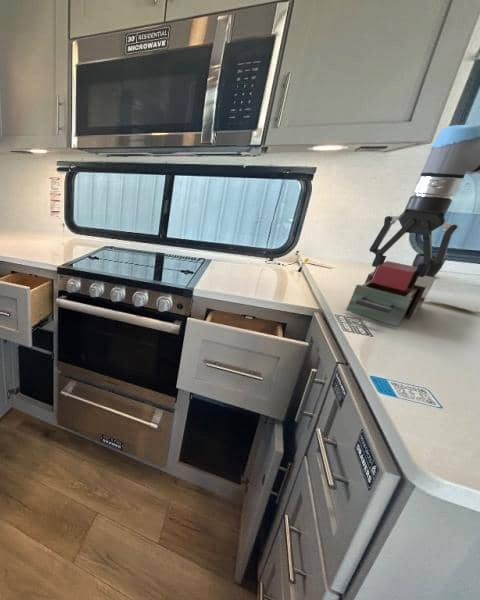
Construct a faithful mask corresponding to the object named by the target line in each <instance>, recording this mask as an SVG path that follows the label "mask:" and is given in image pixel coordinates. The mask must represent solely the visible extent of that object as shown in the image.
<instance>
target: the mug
mask: <svg viewBox="0 0 480 600" xmlns="http://www.w3.org/2000/svg"><path fill="white" fill-rule="evenodd" d="M436 257H437V255H434V254H432V260H434V259H436ZM446 260H447V258H446V257H445V258H444V261H443V263H442V264H440V265H431V266H430V267H429V269H428V271H427V273H426V275H425V276H429V277H434V278H435V276H436V275H437V274H438V273H439V272H440V271H441V270H442V267H443V266H444V264H445V262H446ZM420 263H424V254H423V253H416V255H415V257H414V260H413V261H412V265H411V266H414V267H418V265H419V264H420Z"/></svg>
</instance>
